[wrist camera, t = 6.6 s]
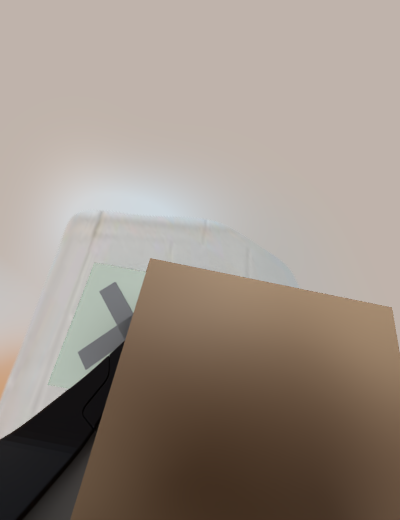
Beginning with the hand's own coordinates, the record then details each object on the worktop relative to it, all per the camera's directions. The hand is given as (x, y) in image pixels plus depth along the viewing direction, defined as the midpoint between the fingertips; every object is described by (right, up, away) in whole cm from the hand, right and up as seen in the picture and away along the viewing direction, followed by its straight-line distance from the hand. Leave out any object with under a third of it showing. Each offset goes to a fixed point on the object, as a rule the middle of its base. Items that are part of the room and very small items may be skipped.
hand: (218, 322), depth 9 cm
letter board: (-10, -5, +10) cm, 15 cm away
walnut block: (-1, -3, +7) cm, 7 cm away
